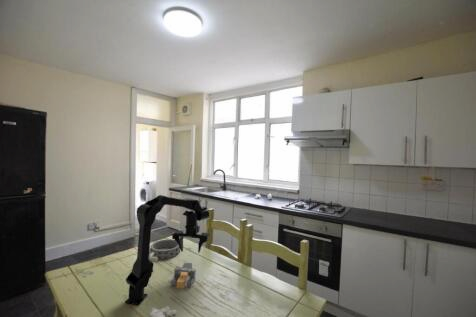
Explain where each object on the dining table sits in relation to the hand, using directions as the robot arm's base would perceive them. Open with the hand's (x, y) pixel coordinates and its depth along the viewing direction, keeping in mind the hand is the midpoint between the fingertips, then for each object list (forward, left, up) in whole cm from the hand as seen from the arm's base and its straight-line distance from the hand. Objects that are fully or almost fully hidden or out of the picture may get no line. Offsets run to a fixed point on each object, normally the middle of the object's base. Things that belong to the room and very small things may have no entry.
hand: (190, 251), depth 114 cm
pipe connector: (+1, +24, -11) cm, 26 cm away
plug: (-6, +1, -11) cm, 12 cm away
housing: (-9, 0, -11) cm, 14 cm away
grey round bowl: (+20, +23, -11) cm, 32 cm away
